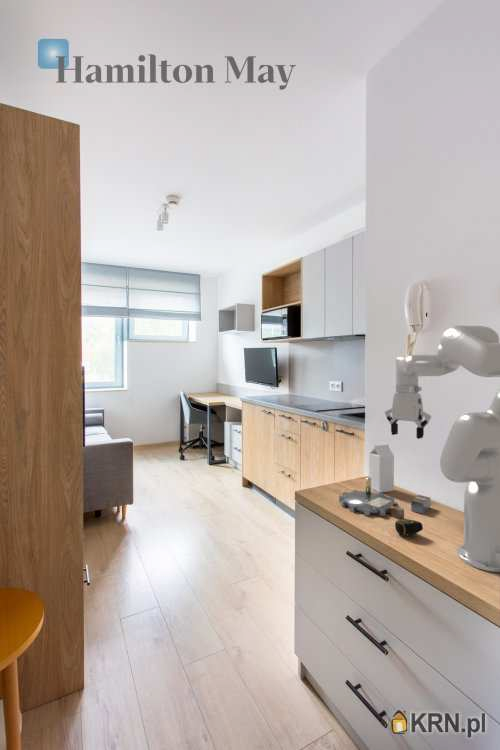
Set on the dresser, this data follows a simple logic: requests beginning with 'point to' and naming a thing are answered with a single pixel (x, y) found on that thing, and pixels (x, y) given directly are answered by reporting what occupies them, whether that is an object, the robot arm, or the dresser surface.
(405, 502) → the dresser surface
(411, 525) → the tape measure
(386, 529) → the dresser surface
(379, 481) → the milk carton
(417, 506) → the grey rectangular block
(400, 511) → the taupe wooden cube
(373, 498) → the sprocket
